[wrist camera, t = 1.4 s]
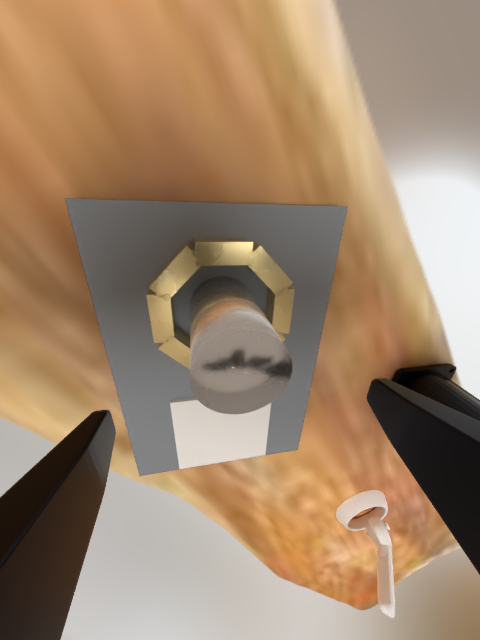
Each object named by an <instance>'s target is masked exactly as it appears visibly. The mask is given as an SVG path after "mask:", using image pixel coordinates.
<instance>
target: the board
mask: <svg viewBox="0 0 480 640" xmlns="http://www.w3.org/2000/svg"><path fill="white" fill-rule="evenodd" d="M65 201H66V204H67V208H68V212H69V216H70V219H71V223H72V227H73V230H74V234H75V238H76V241H77V245H78V249H79V253H80V256H81V260H82V264H83V267H84V271H85V275H86V279H87V282H88V286H89V290H90V293H91V297H92V301H93V305H94V308H95V312H96V316H97V319H98V323H99V327H100V331H101V334H102V338H103V342H104V345H105V349H106V353H107V356H108V360H109V364H110V368H111V371H112V375H113V379H114V382H115V386H116V390H117V394H118V397H119V401H120V405H121V408H122V412H123V416H124V420H125V423H126V427H127V431H128V434H129V438H130V442H131V445H132V449H133V453H134V457H135V460H136V464H137V468H138V471H139V475H140V476H143V475H149V474H155V473H161V472H167V471H173V470H179V463H178V456H177V449H176V442H175V435H174V428H173V421H172V414H171V407H170V400H176V399H185V398H193V397H195V395H194V393H193V391H192V389H191V384H190V369H188V368H187V367H185V366H184V365H182V364H180V363H179V362H177V361H176V360H174V359H173V358H171V357H170V356H168V355H167V354H165V353H164V352H162V351H160V350H159V349H158V346H159V343H154V340H153V334H152V328H151V321H150V315H149V309H148V302H147V296H146V295H147V293H148V291H149V286H150V284H151V282H152V280H153V278H154V277H155V276H156V275H157V274H158V273H159V272H160V271H161V270H162V268H163V267H164V266H165V265H166V264H167V263H168V262H169V261H170V260H171V259H172V257H173V256H174V255H175V254H176V253H177V252H178V251H179V250H180V249H181V248H182V246H183V245H184V244H185V243H186V242H189V243H190V244H191V245H192V246H193V247H194V248H195V238H248V239H249V240H251V241H252V242H256V243H258V244H259V245H261V246H262V248H263V249H264V250H265V251H266V252H267V253H268V254H269V256H270V257H271V258H272V259H273V260H274V261H275V262H276V264H277V265H278V266H279V267H280V268H281V269H282V271H283V272H284V273H285V274H286V275H287V276H288V277H289V279H290V280H291V281H292V282H293V283H292V284H291V285H290V286H292V287H293V288H294V289H295V293H294V301H293V308H292V316H291V323H290V330H289V333H287V334H283V335H284V337H285V338H286V339H285V340H284V341H283V343H284V345H285V346H286V348H287V349H288V351H289V353H290V355H291V359H292V374H291V378H290V380H289V382H288V384H287V386H286V388H285V389H284V391H283V392H282V393H281V394H280V395H279V396H278V397H277V398H276V399H275V400H274V401H272V402H271V409H270V418H269V427H268V436H267V445H266V454H265V455H269V454H275V453H281V452H287V451H293V450H298V446H299V441H300V436H301V431H302V427H303V422H304V417H305V412H306V407H307V402H308V397H309V392H310V387H311V382H312V378H313V373H314V368H315V363H316V358H317V353H318V348H319V343H320V338H321V334H322V329H323V324H324V319H325V314H326V309H327V304H328V299H329V294H330V289H331V285H332V280H333V275H334V270H335V265H336V260H337V255H338V250H339V245H340V240H341V236H342V231H343V226H344V221H345V216H346V211H347V206H314V205H279V204H245V203H211V202H177V201H142V200H108V199H74V198H65ZM217 276H228V277H232V278H235V279H237V280H239V281H240V282H242V283H243V284H244V285H245V286H246V287H247V289H248V290H249V292H250V293H251V295H252V296H253V298H254V299H255V301H256V302H257V304H258V305H259V307H260V308H261V310H262V311H263V313H264V314H265V316H266V305H267V293H268V286H267V285H266V284H265V283H264V282H263V281H262V280H261V279H260V278H259V277H258V276H257V274H256V273H255V272H254V271H253V270H252V269H251V268H250V267H249V266H248V265H218V266H201V267H200V268H199V269H198V270H197V271H196V272H195V273H194V274H193V275H192V276H191V277H190V278H189V279H188V280H187V281H186V282H185V283H184V284H183V286H182V287H181V288H180V289H179V290H178V291H177V292H176V293H175V294H174V295H173V303H174V312H175V321H176V327H178V328H179V329H180V330H182V331H183V332H185V333H186V334H187V335H189V336H190V304H191V299H192V296H193V293H194V292H195V290H196V289H197V287H198V286H199V285H200V284H202V283H203V282H204V281H206V280H208V279H210V278H213V277H217ZM262 456H263V455H262ZM256 457H257V456H256ZM250 458H251V457H250ZM244 459H245V458H244ZM238 460H239V459H238ZM232 461H233V460H232ZM226 462H227V461H226ZM220 463H221V462H220ZM214 464H215V463H214ZM208 465H209V464H208ZM202 466H203V465H202ZM196 467H197V466H196ZM190 468H191V467H190ZM184 469H185V468H184Z"/></svg>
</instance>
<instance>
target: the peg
mask: <svg viewBox="0 0 480 640" xmlns="http://www.w3.org/2000/svg"><path fill="white" fill-rule="evenodd" d="M291 374H292V359H291V355H290V353H289V351H288V349H287V348H286V346H285V345H284V343H283V342H282V340H281V339H280V337H279V336H278V334H277V333H276V331H275V330H274V328H273V327H272V325H271V324H270V322H269V320H268V319H267V317H266V316H265V314H264V313H263V311H262V310H261V308H260V307H259V305H258V304H257V302H256V301H255V299H254V298H253V296H252V295H251V293H250V292H249V290H248V289H247V287H246V286H245V285H244V284H243V283H242V282H240V281H239V280H237V279H235V278H232V277H228V276H217V277H213V278H210V279H208V280H206V281H204V282H203V283H202V284H200V285H199V286H198V287H197V289H196V290H195V292H194V293H193V296H192V299H191V304H190V384H191V389H192V391H193V393H194V395H195V397H196V398H197V400H198V401H199V402H200V403H201V404H203V405H204V406H205V407H207V408H209V409H211V410H213V411H216V412H219V413H223V414H244V413H249V412H252V411H255V410H258V409H260V408H262V407H264V406H266V405H268V404H269V403H271V402H272V401H274V400H275V399H276V398H277V397H278V396H279V395H280V394H281V393H282V392H283V391H284V389H285V388H286V386H287V384H288V382H289V380H290V378H291Z"/></svg>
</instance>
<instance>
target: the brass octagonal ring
mask: <svg viewBox="0 0 480 640" xmlns="http://www.w3.org/2000/svg"><path fill="white" fill-rule="evenodd" d="M218 265H248V266H249V267H250V268H251V269H252V270H253V271H254V272H255V273H256V274H257V276H258V277H259V278H260V279H261V280H262V281H263V282H264V283H265V284H266V285H267V286H268V293H267V305H266V317H267V319H268V320H269V322H270V324H271V325H272V327H273V328H274V330H275V331H276V333H277V334H278V336H279V337H280V339H281V340H282V342H283V341H284V340H285V339H286V338H285V337H284V335H283V334H287V333H289V330H290V323H291V316H292V308H293V301H294V293H295V289H294V288H293V287H292V286H290V285H291V284H292V283H293V282H292V281H291V280H290V279H289V277H288V276H287V275H286V274H285V273H284V272H283V271H282V269H281V268H280V267H279V266H278V265H277V264H276V262H275V261H274V260H273V259H272V258H271V257H270V256H269V254H268V253H267V252H266V251H265V250H264V249H263V248H262V246H261V245H259V244H258V243H256V242H252V241H251V240H249V239H248V238H195V248H194V247H193V246H192V245H191V244H190V243H189V242H186V243H185V244H184V245H183V246H182V248H181V249H180V250H179V251H178V252H177V253H176V254H175V255H174V256H173V257H172V259H171V260H170V261H169V262H168V263H167V264H166V265H165V266H164V267H163V268H162V270H161V271H160V272H159V273H158V274H157V275H156V276H155V277H154V278H153V280H152V282H151V284H150V286H149V291H148V293H147V295H146V296H147V302H148V309H149V315H150V321H151V328H152V334H153V340H154V343H159V346H158V349H159V350H160V351H162V352H164V353H165V354H167V355H168V356H170V357H171V358H173V359H174V360H176V361H177V362H179V363H180V364H182V365H184V366H185V367H187V368H188V369H190V336H189V335H187V334H186V333H185V332H183V331H182V330H180V329H179V328H178V327H176V321H175V312H174V303H173V295H174V294H175V293H176V292H177V291H178V290H179V289H180V288H181V287H182V286H183V284H184V283H185V282H186V281H187V280H188V279H189V278H190V277H191V276H192V275H193V274H194V273H195V272H196V271H197V270H198V269H199V268H200V267H201V266H218Z"/></svg>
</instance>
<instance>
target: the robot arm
mask: <svg viewBox="0 0 480 640" xmlns="http://www.w3.org/2000/svg"><path fill="white" fill-rule="evenodd" d="M455 371H456V367H455V366H453V365H452V364H446V365H437V366H428V367H419V368H410V369H402V370H399V371H398V372H397V373H396V375H395V378H394V380H393V381H391V380H388V379H386V378H378V379H374V380H373V381H372V382H371V385H370V388H369V391H368V394H367V401H368V403H369V405H370V407H371V409H372V410H373V412H374V414H375V416H376V417H377V419H378V421H379V423H380V425H381V426H382V428H383V430H384V432H385V434H386V435H387V437H388V439H389V440H390V442H391V444H392V445H393V447H394V448H395V450H396V451H397V453H398V454H399V456H400V457H401V459H402V460H403V462H404V463H405V465H406V466H407V468H408V469H409V471H410V472H411V474H412V475H413V477H414V478H415V480H416V481H417V482H418V484H419V485H420V487H421V488H422V490H423V491H424V493H425V494H426V496H427V497H428V499H429V500H430V502H431V503H432V505H433V506H434V508H435V509H436V511H437V512H438V514H439V515H440V517H441V518H442V520H443V521H444V522H445V524H446V525H447V527H448V528H449V530H450V531H451V533H452V534H453V536H454V537H455V539H456V540H457V542H458V543H459V545H460V546H461V548H462V549H463V551H464V552H465V554H466V555H467V557H468V558H469V560H470V561H471V562H472V564H473V565H474V567H475V568H476V570H477V571H478V573H479V574H480V400H479V399H477V398H476V397H474V396H473V395H471V394H470V393H468V392H467V391H466V390H464V389H463V388H461V387H460V386H458V385H457V384H455V383H454V382H452V381H451V378H452V376H453V374H454V373H455ZM115 433H116V432H115V426H114V422H113V419H112V416H111V413H110V411H109V410H100V411H94V412H93V413H91V414H90V415H89V416H88V417H87V418H86V419H85V420H84V421H83V422H81V423H80V424H79V425H78V426H77V427H76V428H75V429H74V430H73V431H72V432H71V433H70V434H68V435H67V436H66V437H65V438H64V439H63V440H62V441H61V442H60V443H59V444H58V445H56V446H55V447H54V448H53V449H52V450H51V451H50V452H49V453H48V454H47V455H46V456H45V457H43V458H42V459H41V460H40V461H39V462H38V463H37V464H36V465H35V466H34V467H33V468H32V469H30V470H29V471H28V472H27V473H26V474H25V475H24V476H23V477H22V478H21V479H20V480H19V481H18V482H16V483H15V484H14V485H13V486H12V487H11V488H10V489H9V490H8V491H7V492H5V494H3V496H1V497H0V640H60V639H61V636H62V632H63V629H64V626H65V622H66V619H67V615H68V612H69V609H70V606H71V602H72V599H73V595H74V592H75V589H76V585H77V582H78V579H79V575H80V572H81V568H82V565H83V562H84V559H85V555H86V552H87V549H88V545H89V542H90V538H91V535H92V532H93V528H94V525H95V522H96V518H97V515H98V511H99V508H100V505H101V502H102V498H103V495H104V491H105V487H106V482H107V477H108V471H109V466H110V461H111V456H112V450H113V445H114V440H115Z"/></svg>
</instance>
